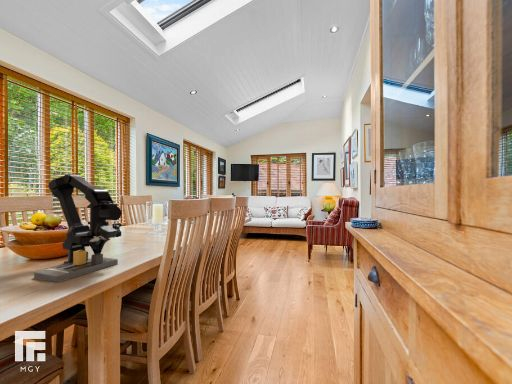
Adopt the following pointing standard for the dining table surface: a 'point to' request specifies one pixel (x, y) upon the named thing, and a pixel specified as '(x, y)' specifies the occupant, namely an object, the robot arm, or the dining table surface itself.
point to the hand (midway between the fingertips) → (97, 256)
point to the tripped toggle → (79, 257)
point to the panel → (75, 268)
